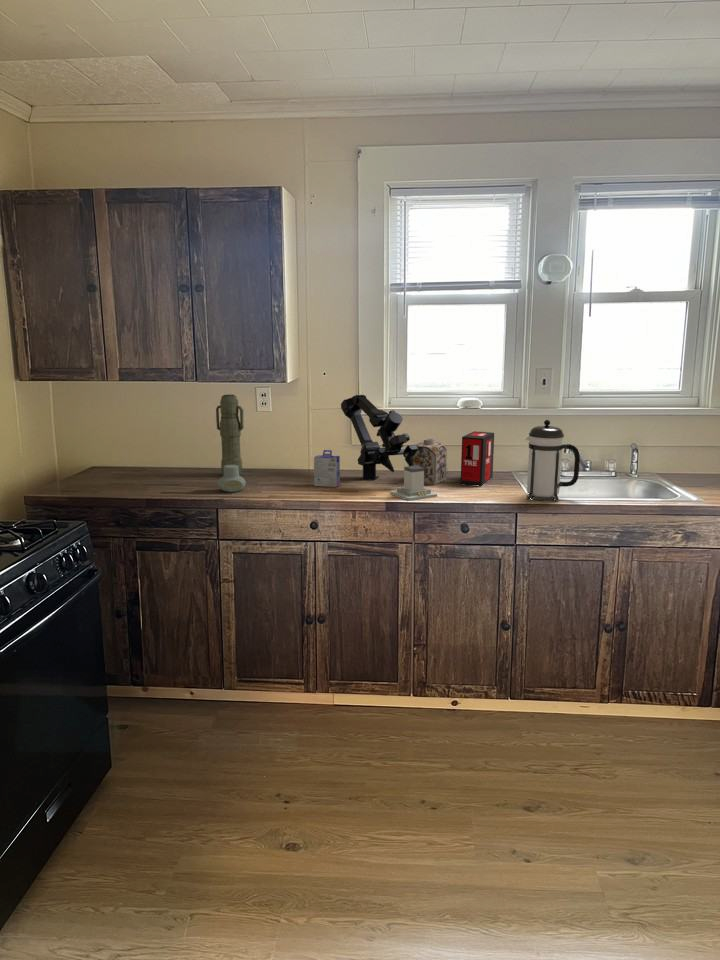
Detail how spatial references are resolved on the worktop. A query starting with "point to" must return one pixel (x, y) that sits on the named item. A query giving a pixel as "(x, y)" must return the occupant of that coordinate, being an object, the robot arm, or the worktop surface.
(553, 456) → the coffee press
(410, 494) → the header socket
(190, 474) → the worktop surface
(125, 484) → the worktop surface
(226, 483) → the air freshener
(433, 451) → the decorative jar
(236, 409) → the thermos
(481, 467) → the cleaning product box
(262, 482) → the worktop surface
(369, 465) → the robot arm
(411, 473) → the block
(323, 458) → the ink cartridge box
